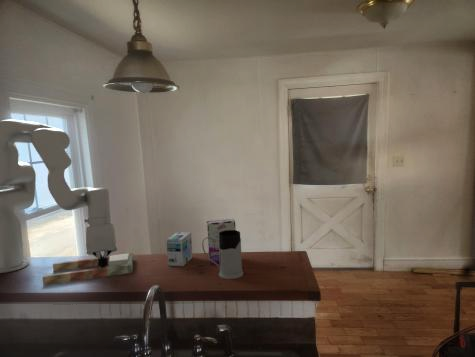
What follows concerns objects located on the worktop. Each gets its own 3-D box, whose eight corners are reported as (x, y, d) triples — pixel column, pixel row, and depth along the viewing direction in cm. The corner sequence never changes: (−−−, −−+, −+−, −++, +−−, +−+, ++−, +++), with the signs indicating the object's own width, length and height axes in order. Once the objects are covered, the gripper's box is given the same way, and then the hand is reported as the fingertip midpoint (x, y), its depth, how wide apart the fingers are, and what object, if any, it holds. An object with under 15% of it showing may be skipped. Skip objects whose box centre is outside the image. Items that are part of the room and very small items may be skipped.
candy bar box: (235, 257, 125) (233, 218, 124) (237, 261, 121) (235, 220, 119) (208, 260, 123) (206, 220, 122) (209, 264, 118) (207, 223, 117)
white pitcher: (243, 278, 104) (242, 235, 103) (202, 280, 104) (200, 237, 103) (242, 268, 113) (241, 229, 112) (204, 270, 113) (203, 230, 112)
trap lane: (43, 285, 104) (42, 277, 104) (54, 270, 118) (53, 263, 117) (132, 272, 113) (131, 264, 113) (133, 260, 126) (132, 253, 126)
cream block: (109, 271, 116) (108, 261, 115) (111, 265, 122) (110, 255, 122) (128, 269, 118) (127, 259, 117) (129, 262, 124) (128, 253, 124)
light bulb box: (183, 266, 117) (182, 239, 116) (167, 266, 118) (165, 239, 117) (193, 257, 127) (191, 232, 126) (178, 256, 129) (176, 231, 128)
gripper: (75, 224, 109) (79, 274, 110) (120, 220, 113) (123, 268, 115) (79, 220, 116) (83, 266, 118) (121, 216, 120) (124, 261, 122)
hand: (103, 267), depth 116 cm, fingers closed
